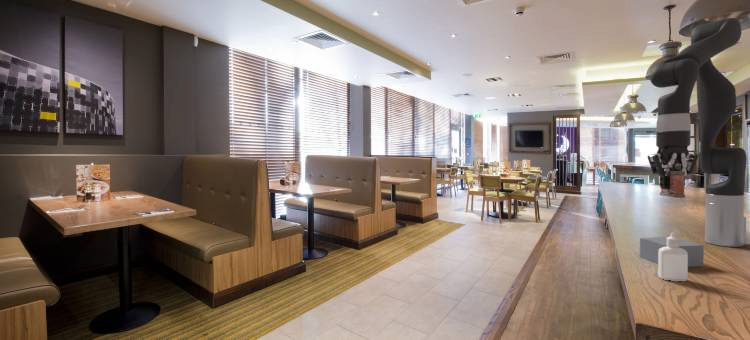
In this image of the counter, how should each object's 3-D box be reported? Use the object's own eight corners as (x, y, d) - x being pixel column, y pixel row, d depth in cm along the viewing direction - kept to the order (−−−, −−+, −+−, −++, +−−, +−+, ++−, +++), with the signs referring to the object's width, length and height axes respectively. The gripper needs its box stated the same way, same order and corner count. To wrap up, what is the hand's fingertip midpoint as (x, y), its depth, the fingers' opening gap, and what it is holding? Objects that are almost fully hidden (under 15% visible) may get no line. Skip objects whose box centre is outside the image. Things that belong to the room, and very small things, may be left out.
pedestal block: (670, 255, 106) (670, 236, 105) (703, 266, 96) (703, 245, 95) (640, 257, 105) (640, 238, 105) (669, 267, 95) (669, 246, 95)
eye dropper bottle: (686, 284, 83) (687, 236, 83) (657, 279, 87) (657, 232, 87) (687, 279, 86) (688, 233, 86) (659, 274, 90) (659, 230, 90)
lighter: (688, 197, 95) (689, 162, 95) (674, 197, 96) (675, 162, 95) (669, 194, 103) (670, 162, 103) (657, 194, 104) (657, 162, 103)
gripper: (683, 131, 103) (682, 187, 103) (639, 131, 102) (638, 188, 103) (709, 129, 95) (708, 189, 96) (661, 129, 95) (660, 190, 95)
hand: (672, 188), depth 99 cm, fingers closed on lighter, 4 cm apart
